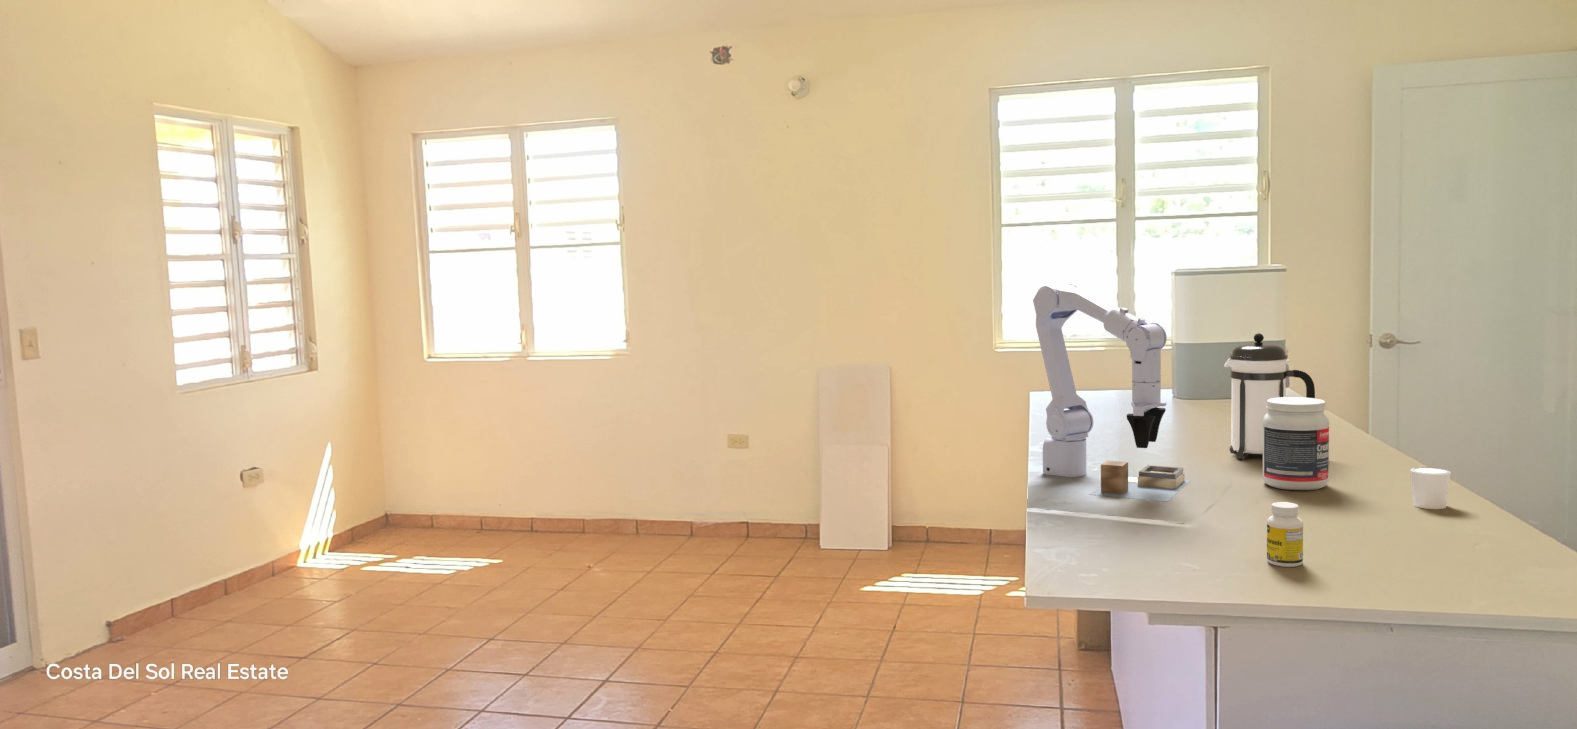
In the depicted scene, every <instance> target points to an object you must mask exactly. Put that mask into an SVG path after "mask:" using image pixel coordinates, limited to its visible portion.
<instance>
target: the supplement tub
mask: <svg viewBox="0 0 1577 729" xmlns="http://www.w3.org/2000/svg"><path fill="white" fill-rule="evenodd" d="M1266 408H1267V409H1268V413H1267V414H1266V415H1265V416H1264V418H1263V454H1262V480H1263V482H1264V483H1265V484H1266V485H1268V486H1270V487H1273V488H1276V489H1280V490H1288V491H1289V490H1290V491H1314V490H1319V489H1322V488H1324V487H1326V486H1327V484H1329V473H1330V472H1329V467H1330V466H1329V465H1330V461H1329V460H1330V458H1329V457H1330V420H1329V418H1328V416H1327V415H1326V414H1325V412H1324V411H1325V410H1327V407H1326V401H1325V400H1324V399H1319V398H1315V399H1314V398H1306V397H1300V396H1299V397H1298V396H1297V397H1296V396H1295V397H1293V396H1286V397H1279V398H1271V399H1268V400H1267V406H1266Z"/></svg>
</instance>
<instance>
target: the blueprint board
mask: <svg viewBox="0 0 1577 729" xmlns="http://www.w3.org/2000/svg"><path fill="white" fill-rule="evenodd" d="M1185 477H1186V476H1185V471H1184V467H1180V466H1179V467H1177V466H1163V465H1153V464H1152V465H1151V464H1150V465H1149V464H1147V465H1146V466H1145V467H1143V468H1142V469H1141V470H1139V471H1138V474H1137V475H1134V474H1128V490H1127V491H1126V492H1125V493H1124V494H1113V493H1102V492H1101V485H1100V486H1099V487H1097V488H1096V489H1095V490H1093V491H1092V492H1090V493H1089V494H1088V495H1090V496H1097V497H1098V496H1101V497H1111V498H1112V497H1113V498H1121V499H1133V500H1134V499H1135V500H1143V501H1146V500H1147V501H1157V502H1169V501H1171V500H1172V498H1173V497H1175V496H1176V495H1177V493H1179V492H1180V491H1181V490H1182V489H1183V488H1185V486H1187V485H1188V484H1189V483H1190V482H1191V481H1192V479H1190V478H1189V479H1188V478H1187V479H1185Z"/></svg>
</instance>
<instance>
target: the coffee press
mask: <svg viewBox="0 0 1577 729" xmlns="http://www.w3.org/2000/svg"><path fill="white" fill-rule="evenodd" d="M1264 338H1265V337H1264V335H1263V334H1262V333H1260V332H1259V333H1255V334H1254V336H1253V340H1254V343H1253V342H1252V343H1244V344H1240V345H1237V346H1235V347H1233V349H1232V352H1231V353H1230V354H1229V357H1228V359H1227V360H1226V361H1225V363H1224V365H1223V366H1224V368H1231V369H1230V379H1231V401H1230V402H1231V411H1230V412H1231V414H1230V415H1231V416H1230V417H1231V418H1230V419H1231V421H1230V422H1231V423H1230V424H1231V425H1230V426H1231V430H1230V432H1231V435H1230V436H1231V439H1230V440H1231V442H1230V443H1231V445H1230V446H1229V452H1230V453H1237V454H1236V455H1235V456H1236V459H1237V460H1239V459H1240V460H1239V461H1241V460H1242V461H1244V460H1245V459H1246V457H1247V456H1248V455H1253V454H1254V455H1255V454H1256V455H1263V418H1264V416H1265V415H1266V414H1267V413H1268V409H1267V408H1266V406H1267V400H1268V399H1271V398H1279V397H1287V395H1286V392H1287V391H1286V388H1287V387H1286V385H1287V384H1286V383H1287V382H1286V380H1287V378H1288V377H1289V378H1290V377H1292V378H1299V379H1301V381H1303V382H1304V384H1305V392H1306V393H1305V394H1306V397H1305V398H1314V399H1316V395H1315V394H1316V392H1315V391H1316V390H1315V383H1314V381H1313V379H1312V377H1311V375H1310V374H1308V373H1307V372H1305V371H1303V370H1300V369H1292V370H1288V369H1287V360H1288V358H1289V356H1288V355H1289V354H1287V352H1286V351H1285V349H1284V348H1283V347H1282V346H1280V345H1278V344H1274V343H1263V341H1264Z"/></svg>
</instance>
